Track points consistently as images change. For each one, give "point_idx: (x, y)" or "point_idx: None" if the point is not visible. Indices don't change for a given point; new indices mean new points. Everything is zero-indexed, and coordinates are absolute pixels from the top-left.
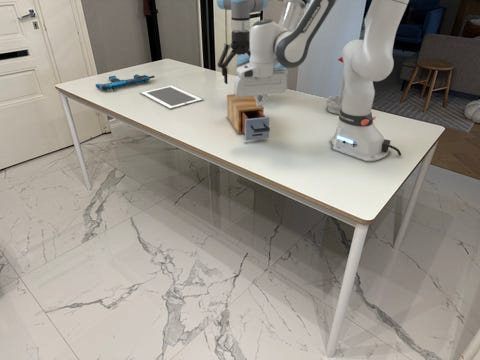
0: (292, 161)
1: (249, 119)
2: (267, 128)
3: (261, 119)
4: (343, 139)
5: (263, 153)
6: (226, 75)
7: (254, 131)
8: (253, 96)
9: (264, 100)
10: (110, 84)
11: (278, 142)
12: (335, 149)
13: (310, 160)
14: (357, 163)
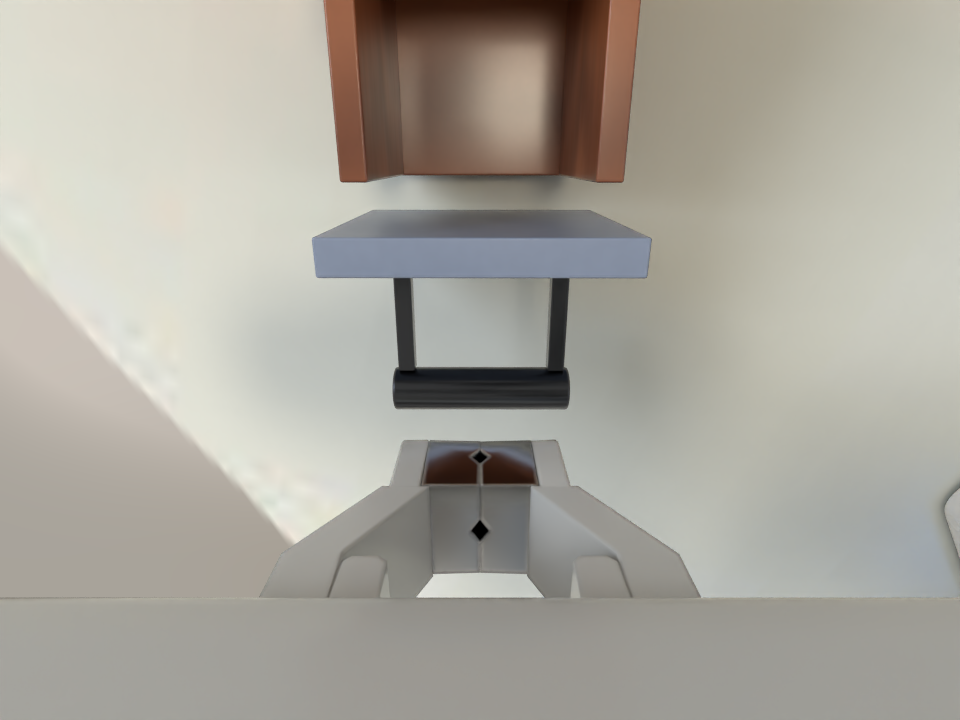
0: None
1: (367, 263)
2: (542, 407)
3: (532, 275)
4: None
5: (463, 430)
6: None
7: (398, 408)
8: (282, 563)
9: (559, 595)
10: None
11: (644, 302)
12: (949, 520)
13: (710, 574)
14: None
